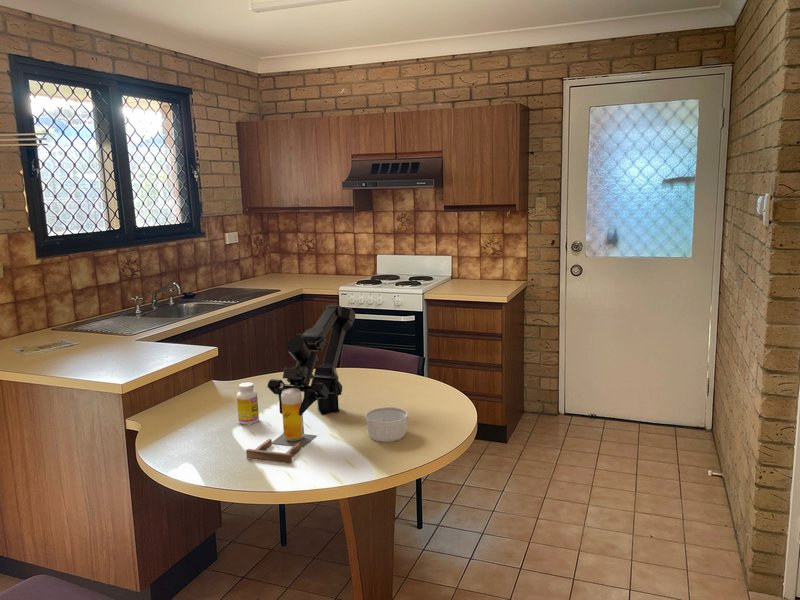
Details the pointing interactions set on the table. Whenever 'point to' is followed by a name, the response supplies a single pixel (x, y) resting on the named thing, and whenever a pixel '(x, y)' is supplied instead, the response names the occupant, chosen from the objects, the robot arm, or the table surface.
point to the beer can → (292, 414)
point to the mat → (304, 440)
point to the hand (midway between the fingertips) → (290, 414)
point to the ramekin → (386, 423)
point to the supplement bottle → (247, 404)
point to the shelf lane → (273, 453)
